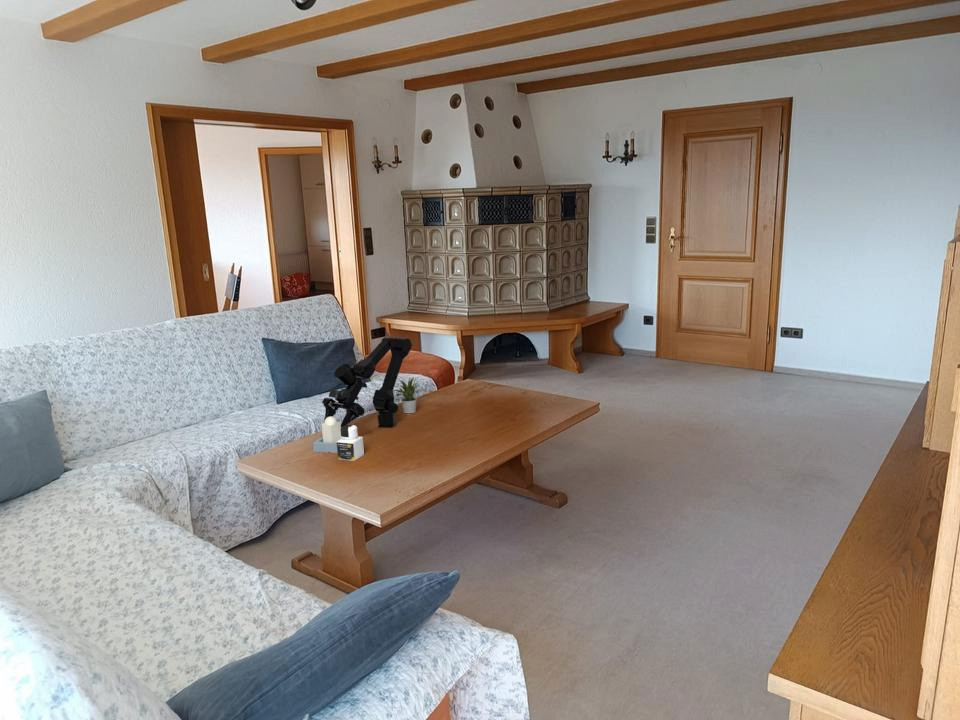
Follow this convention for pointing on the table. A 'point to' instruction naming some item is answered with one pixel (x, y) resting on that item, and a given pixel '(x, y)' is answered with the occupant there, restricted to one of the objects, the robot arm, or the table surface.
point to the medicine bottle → (350, 444)
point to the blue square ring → (324, 446)
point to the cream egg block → (331, 430)
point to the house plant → (408, 396)
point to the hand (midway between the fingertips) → (333, 425)
